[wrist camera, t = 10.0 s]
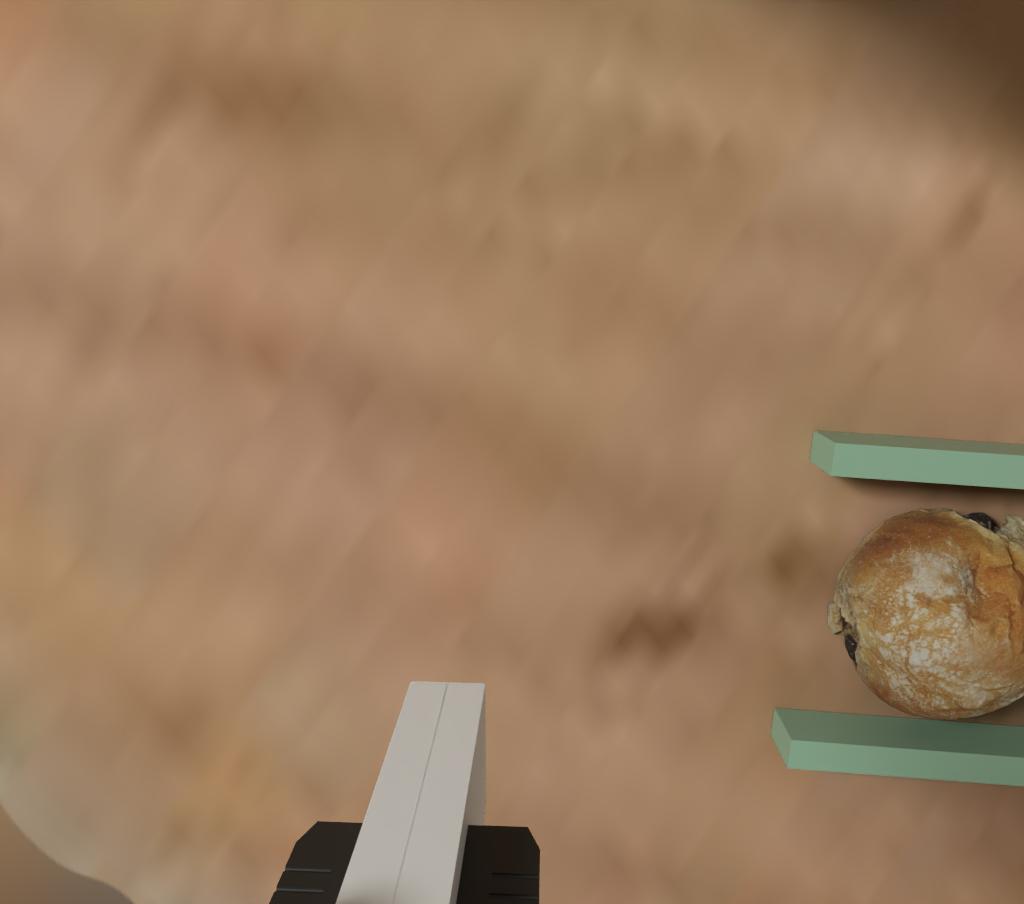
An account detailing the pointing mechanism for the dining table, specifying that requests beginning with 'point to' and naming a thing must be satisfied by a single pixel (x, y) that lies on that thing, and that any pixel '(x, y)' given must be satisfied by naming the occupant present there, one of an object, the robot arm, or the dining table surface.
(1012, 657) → the bread roll
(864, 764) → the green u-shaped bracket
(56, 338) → the dining table surface
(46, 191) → the dining table surface
